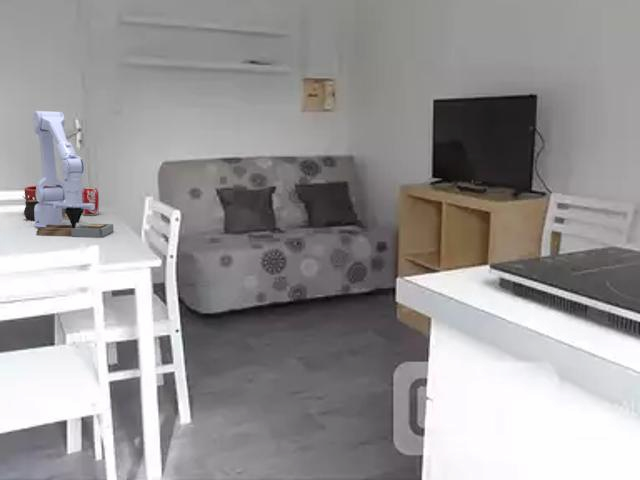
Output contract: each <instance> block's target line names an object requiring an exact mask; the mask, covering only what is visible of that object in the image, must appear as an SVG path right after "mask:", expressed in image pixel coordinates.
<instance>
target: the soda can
mask: <svg viewBox="0 0 640 480" xmlns="http://www.w3.org/2000/svg"><path fill="white" fill-rule="evenodd" d="M99 199H100V198H99V191H98V189H97V187H95V186H82V203H90V204H95V209H93V210H90V209H84V210H83V213H82V215H84V216H88V217H90V216H92V217H93V216H97V215H98V214H99V211H100V203H99Z"/></svg>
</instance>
